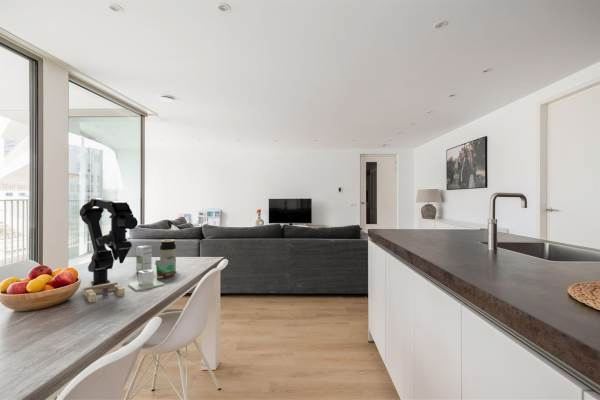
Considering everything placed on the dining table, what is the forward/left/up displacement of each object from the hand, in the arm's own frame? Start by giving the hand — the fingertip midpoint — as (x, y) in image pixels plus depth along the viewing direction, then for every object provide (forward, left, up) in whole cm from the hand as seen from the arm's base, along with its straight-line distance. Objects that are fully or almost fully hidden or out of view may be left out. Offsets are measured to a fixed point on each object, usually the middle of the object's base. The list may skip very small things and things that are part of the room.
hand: (118, 261), depth 129 cm
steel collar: (+6, +10, -11) cm, 16 cm away
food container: (-1, +23, -12) cm, 26 cm away
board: (+6, +10, -12) cm, 17 cm away
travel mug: (-12, +27, -12) cm, 32 cm away
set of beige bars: (+7, -7, -12) cm, 16 cm away
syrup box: (-23, +18, -12) cm, 32 cm away
